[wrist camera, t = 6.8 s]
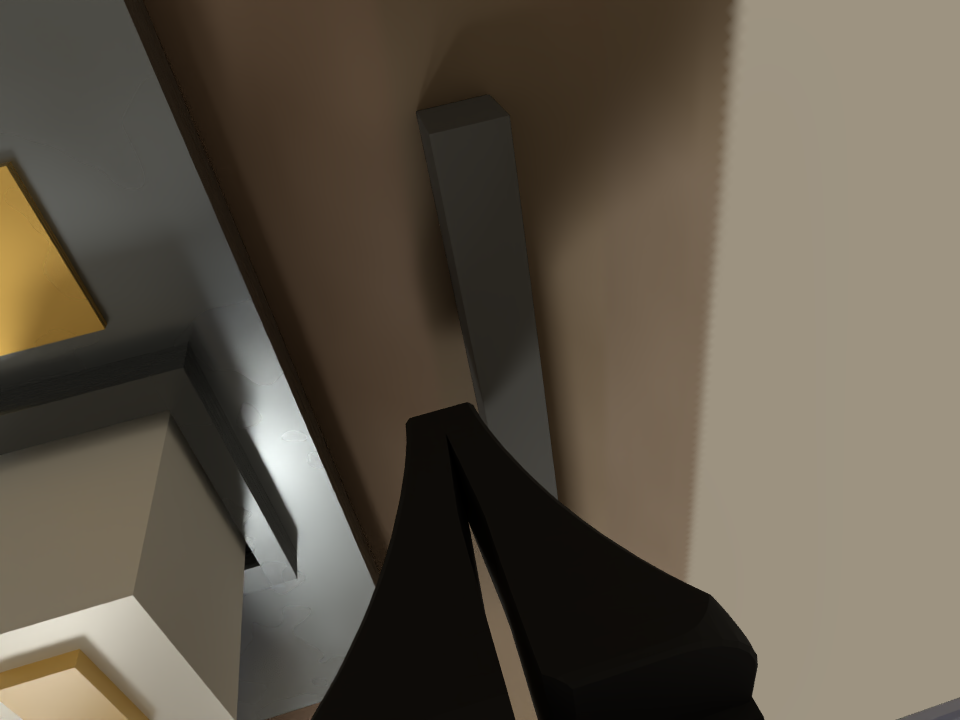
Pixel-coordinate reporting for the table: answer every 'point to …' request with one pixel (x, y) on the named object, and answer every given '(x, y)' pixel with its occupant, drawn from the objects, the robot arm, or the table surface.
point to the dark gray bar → (490, 272)
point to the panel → (163, 324)
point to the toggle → (117, 580)
